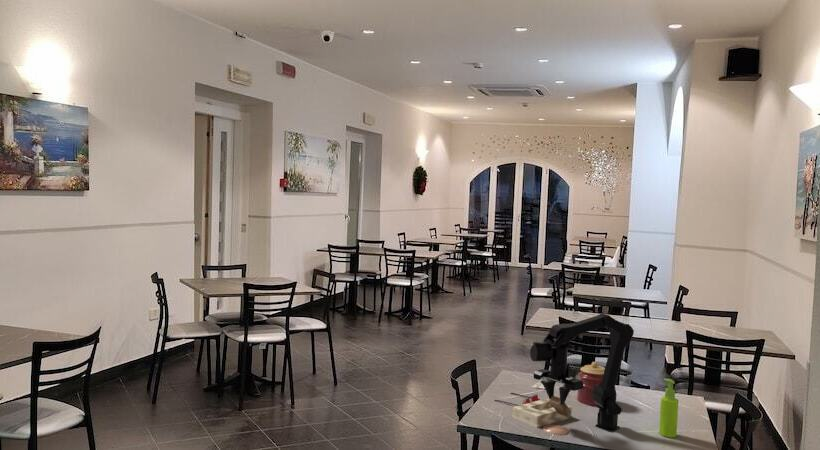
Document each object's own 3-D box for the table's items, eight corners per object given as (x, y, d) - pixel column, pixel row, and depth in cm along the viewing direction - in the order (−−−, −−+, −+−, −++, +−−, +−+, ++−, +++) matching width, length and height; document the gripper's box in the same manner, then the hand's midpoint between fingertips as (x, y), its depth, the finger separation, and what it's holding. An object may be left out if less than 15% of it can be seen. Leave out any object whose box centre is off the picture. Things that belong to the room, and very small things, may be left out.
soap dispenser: (670, 430, 237) (673, 377, 237) (679, 437, 231) (682, 383, 230) (655, 430, 237) (658, 377, 236) (663, 437, 230) (666, 382, 229)
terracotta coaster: (573, 433, 231) (573, 430, 231) (557, 438, 226) (557, 435, 226) (553, 425, 238) (553, 422, 238) (537, 430, 233) (537, 427, 233)
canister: (611, 410, 259) (613, 367, 258) (578, 407, 261) (580, 364, 260) (606, 400, 272) (608, 359, 271) (575, 397, 274) (577, 356, 273)
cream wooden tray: (546, 410, 255) (547, 398, 255) (571, 419, 245) (571, 406, 245) (512, 420, 243) (512, 407, 242) (536, 429, 233) (537, 416, 233)
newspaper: (536, 379, 302) (536, 373, 302) (562, 383, 296) (562, 377, 296) (522, 391, 281) (522, 385, 281) (550, 396, 276) (550, 390, 276)
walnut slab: (558, 413, 236) (561, 408, 237) (568, 417, 232) (571, 411, 233) (548, 401, 232) (552, 395, 233) (558, 404, 229) (562, 398, 230)
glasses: (524, 413, 251) (524, 401, 251) (487, 404, 261) (488, 392, 261) (540, 405, 262) (540, 393, 262) (504, 396, 272) (505, 385, 272)
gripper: (594, 363, 228) (592, 406, 229) (552, 352, 243) (551, 392, 244) (574, 367, 222) (572, 411, 222) (533, 355, 236) (531, 397, 237)
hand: (557, 402), depth 232 cm, fingers closed on walnut slab, 4 cm apart
